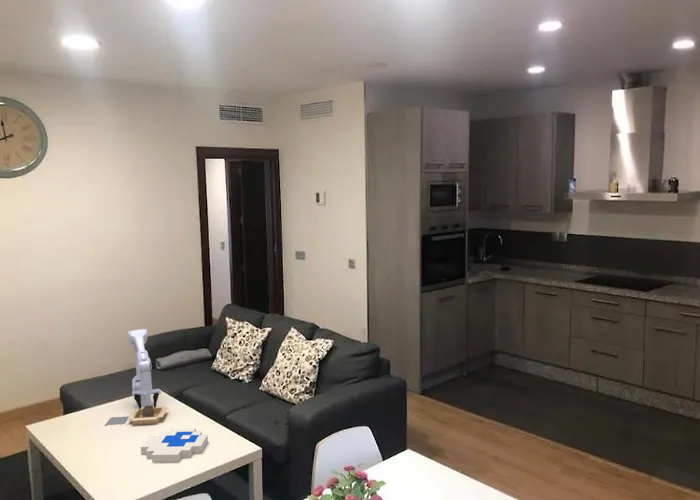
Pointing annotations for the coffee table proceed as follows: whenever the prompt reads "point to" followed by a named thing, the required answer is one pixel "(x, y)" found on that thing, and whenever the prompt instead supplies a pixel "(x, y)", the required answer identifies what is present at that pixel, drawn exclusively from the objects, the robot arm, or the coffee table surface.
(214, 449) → the coffee table surface
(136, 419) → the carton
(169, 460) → the pixel art tile
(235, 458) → the coffee table surface
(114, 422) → the slate mat
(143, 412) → the walnut block
